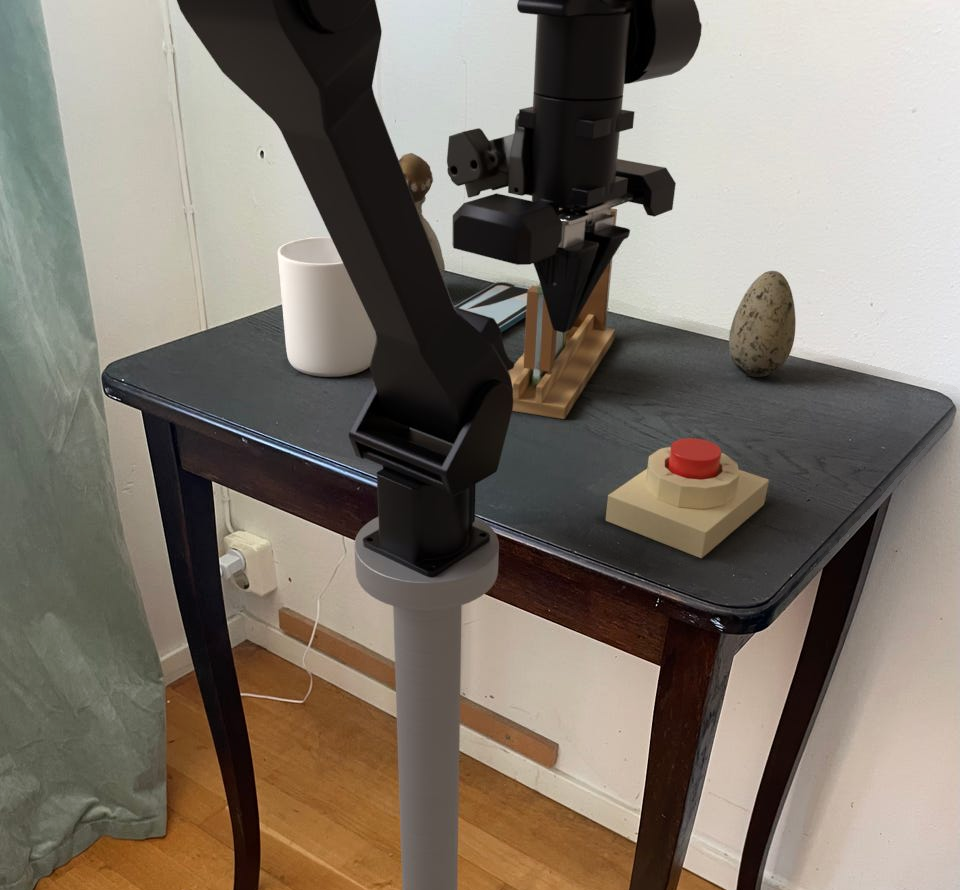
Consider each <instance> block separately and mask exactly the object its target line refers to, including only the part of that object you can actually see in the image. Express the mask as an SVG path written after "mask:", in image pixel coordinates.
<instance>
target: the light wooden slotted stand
mask: <svg viewBox="0 0 960 890" xmlns="http://www.w3.org/2000/svg"><path fill="white" fill-rule="evenodd" d="M611 215H614V224H613V225H615V226H617V216H618V209H617V208H611ZM612 268H613V258H612V259H611V261H610V263H609V264H608V266H607V267H606V269H605V271H604V272H603V274H602V276H601V277H600V279H599V281H598V282H597V284H596V286H595V287H594V289H593V291H592V293H591V295H590V296H589V298H588V300H587V302H586V304H585V305H584V307H583V309H582V311H581V312H580V314H579V316H578V318H577V320H576V321H575V323H574V325H573V327H572V328H571V329H570V330H569V331H566V345H565V348H564V349H563V350H562V352H561V353H560V355H559V356H558V357H557V359H556V360H555V366H554V367H553V369H552V370H551V371H550V372H546V374H545V375H544V377H543V378H542V379H541V381H540V382H539V384H538V385H537V386H535V385H532V375H533V374H534V369H527V368H524V352H523V353H522V354H521V356H520V357H519V358H518V359H517V361H515V363H514V368H513V369H511V370H508V372H509V374H510V377H511V381H512V387H513V409H512V412H517V413H523V414H530V415H536V416H543V417H549V418H553V419H560V420H565V419H566V418H567V416H568V415H569V413H570V411H571V410H572V408H573V406H574V405H575V403H576V402H577V400H578V399H579V397H580V395H581V394H582V392H583V390H584V389H585V387H586V386H587V384H588V382H589V381H590V379H591V378H592V376H593V375H594V373H595V371H596V370H597V368H598V366H599V365H600V363H601V362H602V360H603V359H604V357H605V355H606V354H607V352H608V350H609V349H610V348H611V346H612V344H613V342H614V341H615V336H616V329H615V328H609V327H607V320H608V310H609V297H610V288H611V287H610V286H611V278H612Z"/></svg>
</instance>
